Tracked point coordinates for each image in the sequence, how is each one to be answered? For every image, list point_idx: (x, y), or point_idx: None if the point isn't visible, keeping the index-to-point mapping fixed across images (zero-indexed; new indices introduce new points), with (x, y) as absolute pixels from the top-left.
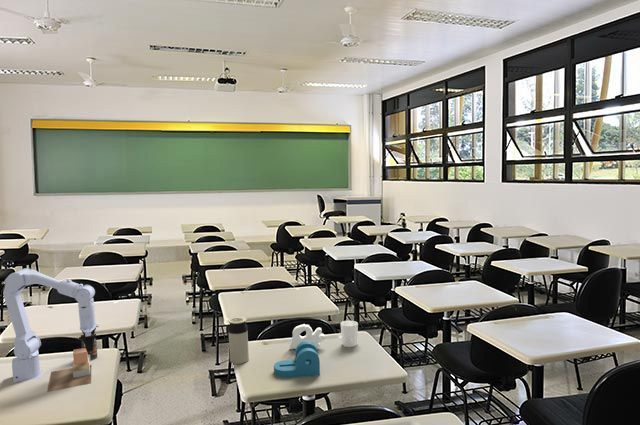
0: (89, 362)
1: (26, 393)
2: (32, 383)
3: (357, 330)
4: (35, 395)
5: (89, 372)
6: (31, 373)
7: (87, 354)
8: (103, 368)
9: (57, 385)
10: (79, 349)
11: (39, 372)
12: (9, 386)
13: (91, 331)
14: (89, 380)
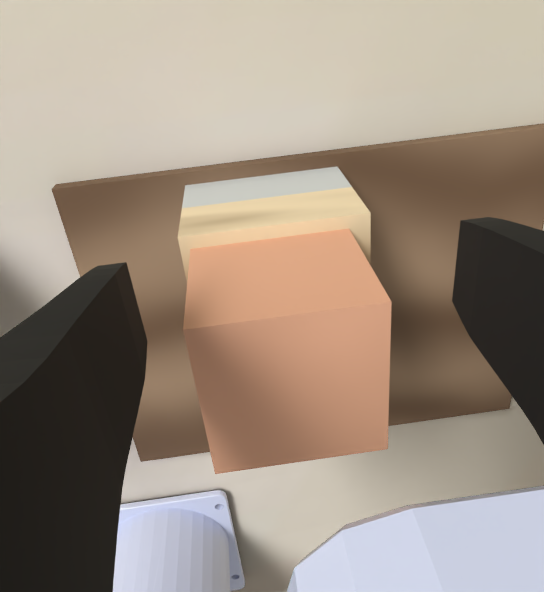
0: (184, 212)
1: (427, 496)
2: (284, 505)
3: None
4: (489, 450)
5: (343, 176)
6: (224, 562)
7: (243, 273)
8: (168, 38)
9: (435, 373)
10: (231, 412)
11: (174, 524)
12: (274, 583)
13: (31, 497)
14: (483, 151)
